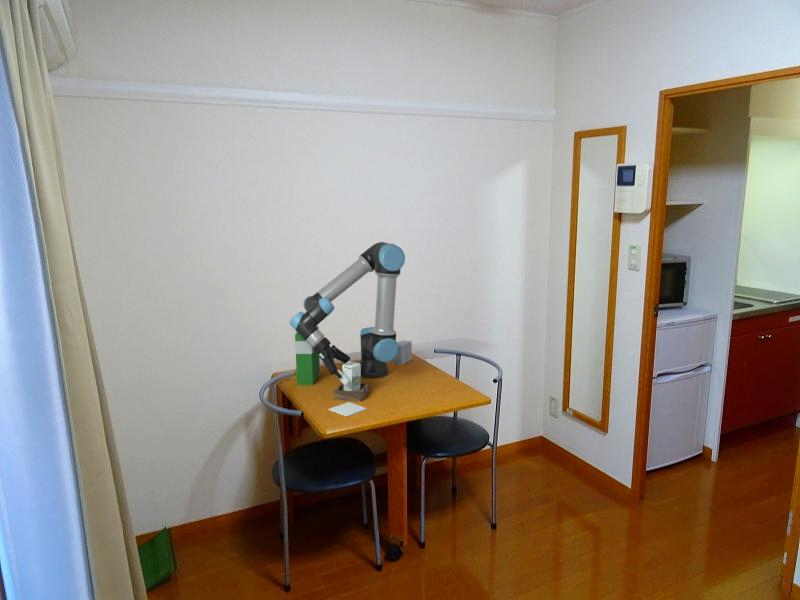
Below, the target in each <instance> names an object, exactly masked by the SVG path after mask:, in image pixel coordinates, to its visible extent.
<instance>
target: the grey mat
mask: <svg viewBox="0 0 800 600" xmlns="http://www.w3.org/2000/svg"><path fill="white" fill-rule="evenodd" d="M367 409H368V408H367V407H364V406H361V405H359V404H355V403H353V402H352V401H348V402H345V403H341V404H339V405H336V406H334V407H330V408H328V411H331V412H333V413H335V412H336V414H338V415H340V414H341V416H343V415H344V416H343V417H345V416H346V417H345V418H347V416H348V417H350V416H353V415H356V414H358V413H361V412H363V411H366V410H367Z"/></svg>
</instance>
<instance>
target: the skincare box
mask: <svg viewBox="0 0 800 600" xmlns="http://www.w3.org/2000/svg"><path fill="white" fill-rule="evenodd" d="M396 342H397V343H398V346H399V352H398V355H397V356H396V357H395V358H394V359H393V360H392V361H391V364H392V363H397V364H403V365H405V364H407V363H409V362H411V361H410V360H411V359H412V360H413V353H412V350H413V349H412V348H413V347H412V346H413V345H412V341H411V340H399V341H396ZM408 361H409V362H408ZM406 362H407V363H406ZM404 363H405V364H404ZM397 364H396V365H397Z"/></svg>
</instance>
